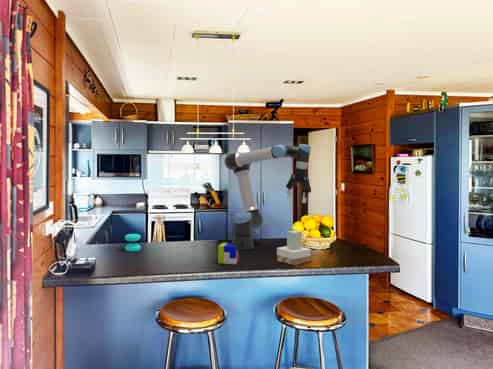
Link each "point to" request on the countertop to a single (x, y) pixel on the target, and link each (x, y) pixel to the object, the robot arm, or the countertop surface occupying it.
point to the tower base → (293, 260)
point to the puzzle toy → (228, 253)
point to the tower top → (293, 252)
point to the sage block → (294, 240)
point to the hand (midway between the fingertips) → (296, 200)
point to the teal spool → (132, 246)
